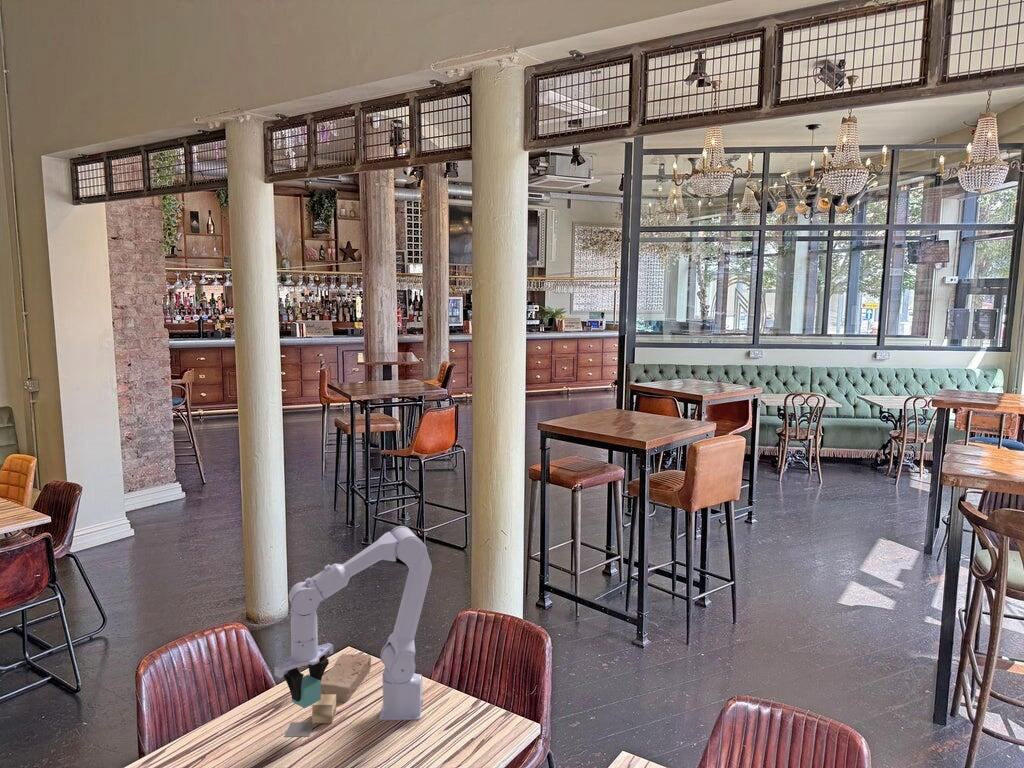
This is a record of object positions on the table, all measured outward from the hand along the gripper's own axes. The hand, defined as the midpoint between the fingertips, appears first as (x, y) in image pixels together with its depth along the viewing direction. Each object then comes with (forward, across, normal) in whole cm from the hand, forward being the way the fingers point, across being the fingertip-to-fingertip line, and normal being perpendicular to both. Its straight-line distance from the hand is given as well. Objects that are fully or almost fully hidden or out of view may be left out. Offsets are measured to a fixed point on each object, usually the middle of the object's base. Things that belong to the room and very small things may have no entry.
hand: (305, 694), depth 157 cm
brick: (+10, +19, +9) cm, 23 cm away
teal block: (+1, 0, 0) cm, 1 cm away
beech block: (+9, +6, +1) cm, 11 cm away
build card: (+9, +2, -1) cm, 9 cm away
